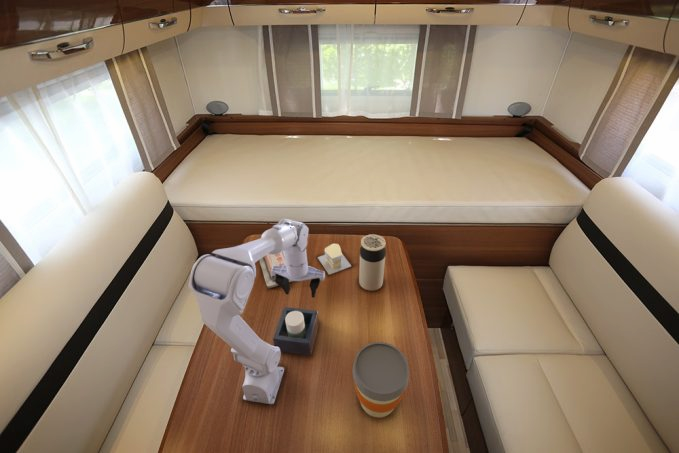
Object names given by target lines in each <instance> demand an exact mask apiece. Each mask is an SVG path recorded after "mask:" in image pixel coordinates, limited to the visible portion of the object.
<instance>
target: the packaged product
mask: <svg viewBox="0 0 679 453" xmlns="http://www.w3.org/2000/svg"><path fill="white" fill-rule="evenodd" d="M258 261H259V265H260V268H261V271H262V275H263V278H264V281H265V284H266V287H267V288H268V289H272V288H275V287H278V286H279V285H278V284H277V283H276V282H275V279H276V276H272V273H271V270H272V268H273V266H282V265H286V262H285V256H284V251H282V252H280V253H278V254H275V255H273V254H269V253H268V254H267V255H265V256H264V257H263V258H261V259H260V260H258ZM291 282H294V281H293V280H290V279H289V283H291Z"/></svg>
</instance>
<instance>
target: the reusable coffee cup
mask: <svg viewBox="0 0 679 453" xmlns="http://www.w3.org/2000/svg"><path fill="white" fill-rule="evenodd" d="M409 368H410V367H409V362H408V360H407V358H406V356H405V354H404V353H403V352H402V350H400V349H399V348H398V347H396V346H395V345H394V344H391V343H388V342H384V341H374V342H370V343H368V344H365V345H364V346H363V347H361V349H359V351H358V352H357V353H356V355H355V357H354V361H353V364H352V378H353V386H354V389H355V393H356V396H357V399H358V401H359V402H360V405H361V408H362V409H363V411H364V412H365V413H366V414H367V415H369V416H371V417H374V418H385V417H387V416H389V415H390V414H391V413H392V412H393V411H394V410H395V408H397V406H398V405H399V404H400V402H401V400H402V398H403V396H404V394H405V392H406V390H407V387H408V384H409V382H410V379H409V378H410V369H409Z"/></svg>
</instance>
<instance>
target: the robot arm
mask: <svg viewBox="0 0 679 453" xmlns="http://www.w3.org/2000/svg"><path fill="white" fill-rule="evenodd" d="M309 231H310V230H309V227H308V226H307V225H306V224H305V222H300V221H297V220H293V219H289V218H281V219H279V221H278V222H277V224H274V225H272V227H271V228H269V229H267V230H265V231H264V232H262V234H261V237H260V238H257V239H255V240H252V241H248V242H244V243H242V244H239V245H236V246H232V247H227V248H225V247H224V248H218V249H215V250H213V251H212V252H211V254H210V253H209V254H208V253H207V254H203V255H201V256H200V257H199V258H198V259H197V260H196V261H195V262H194V263H193V265H192V267H191V271H190V275H189V280H188V281H189V282H188V285H187V287H188V288H189V290H190V291H191V292H192V293H193V295H195V297H196V302H197V306H198V309H199V310H198V311H199V313H200V318H201V321H202V323H203V324H204V325H205V326H206V327H207V328H209V329H210V331H212V332H213V333H214V334H215V335H216V336H218V338H220V339H221V340H222V341H223V342H225V343H226V344H227V345H228V346H229V347H230V348H231V349H230V352H231V353H232V357H233V361H235V362H236V363H240V364H241V366H242V367H244V370H245V375H244V381H243V383H242V385H241V390H242V392H243V396H242V399H243V400H244V401H249V402H256V403H261V404H268V405H274V404H275V402H276V398H277V395H278V391H279V389H280V385H281V382H282V379H283V375H284V372H285V367H283V366H278V365H279V363H280V360H281V356H282V352H281V351H280V348H279V347H277V346H276V347H275V345H272V344H270V343H268V342H266V341H264V340H263V339H261V338H260V337H259V336H258V334H256V332H255V331H254V330H253V329H252V328H251V327H250V325H249V324H248V323H247V322H246V321H245V320H244V318H242V317H241V315H243V313H244V310H245V308H246V306H247V303H248V301H249V297H250V294H251V293H252V292H251V291H252V290H253V287H254V285H255V279H256V278H257V266H256V263H257V262H258V261H259V260H260V259H261V258H263V257H264V256H265V255H267V254H268V253H269V254H273V255H275V254H278V253H280V252H282V251H284V256H285V262H286V265H282V266H273V268H272V270H271V273H272V276H276V279H275V282H276V283H277V284H278V286H279V287H280V288H281V289H282V291H283V292H284V293H285V295H289V294H290V292H291V291H290V290H291V284H290V282H289V279H290V280H293V281H292V282H300V281H301V282H303V281H308V280H310V282H309V285H308V286H309V288H310V291H311V294H310V295H311V298H313V299H314V298H315V297H316V294H317V289H318V288H319V286H320V283H321V282H324V281H325V278H326V270H320V269H319V268H316V267H313V266H310V265H308V264H309V262H308V255H307V253H308V252H307V246H308V238H309ZM212 254H213V255H212Z"/></svg>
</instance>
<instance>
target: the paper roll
mask: <svg viewBox="0 0 679 453" xmlns="http://www.w3.org/2000/svg"><path fill="white" fill-rule="evenodd" d="M285 322H286V327H287V332H288V337H295V338H302V339H306V330H305V323H304V316H303V314H302V313H301V312H299V311H292V312H290V313H288V314H287V315H286V317H285Z"/></svg>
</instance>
